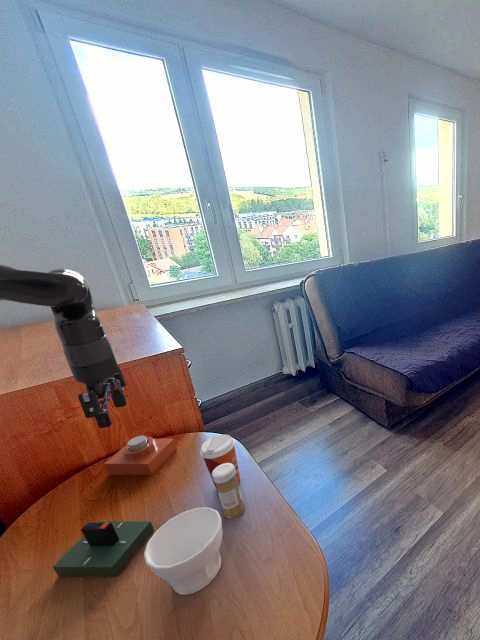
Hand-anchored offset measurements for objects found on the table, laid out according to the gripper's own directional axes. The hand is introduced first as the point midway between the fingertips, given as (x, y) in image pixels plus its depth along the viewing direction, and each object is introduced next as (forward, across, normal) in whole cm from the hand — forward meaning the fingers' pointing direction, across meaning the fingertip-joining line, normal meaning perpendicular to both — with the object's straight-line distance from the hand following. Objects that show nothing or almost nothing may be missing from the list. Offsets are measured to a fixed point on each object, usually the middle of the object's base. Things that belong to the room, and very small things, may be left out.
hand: (114, 416), depth 81 cm
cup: (+22, +32, +19) cm, 43 cm away
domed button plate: (+22, -9, -2) cm, 24 cm away
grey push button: (+16, -9, -2) cm, 19 cm away
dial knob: (+19, +20, 0) cm, 27 cm away
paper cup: (+22, +9, +22) cm, 32 cm away
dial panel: (+22, +20, 0) cm, 30 cm away
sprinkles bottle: (+22, +19, +25) cm, 38 cm away
